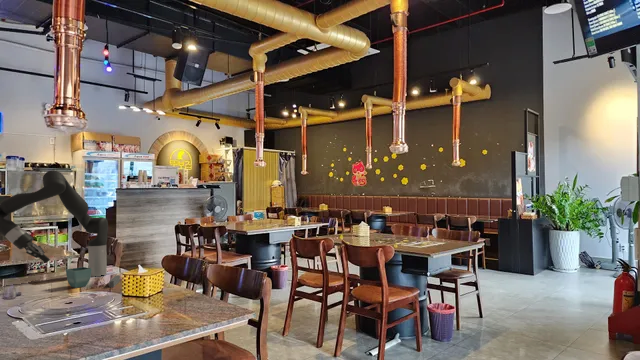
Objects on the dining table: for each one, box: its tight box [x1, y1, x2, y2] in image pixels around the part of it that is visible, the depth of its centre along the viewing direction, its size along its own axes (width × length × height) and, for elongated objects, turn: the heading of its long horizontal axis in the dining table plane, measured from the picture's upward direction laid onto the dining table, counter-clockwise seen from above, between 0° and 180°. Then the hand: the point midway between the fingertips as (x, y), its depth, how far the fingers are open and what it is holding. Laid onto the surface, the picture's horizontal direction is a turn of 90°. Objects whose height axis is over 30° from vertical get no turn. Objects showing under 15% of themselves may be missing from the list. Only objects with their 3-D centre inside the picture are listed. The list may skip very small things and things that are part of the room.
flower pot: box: [65, 266, 92, 289], centre depth 208 cm, size 9×9×9 cm
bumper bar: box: [108, 274, 121, 288], centre depth 212 cm, size 2×16×3 cm, turn 16°
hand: (47, 261), depth 204 cm, fingers closed
